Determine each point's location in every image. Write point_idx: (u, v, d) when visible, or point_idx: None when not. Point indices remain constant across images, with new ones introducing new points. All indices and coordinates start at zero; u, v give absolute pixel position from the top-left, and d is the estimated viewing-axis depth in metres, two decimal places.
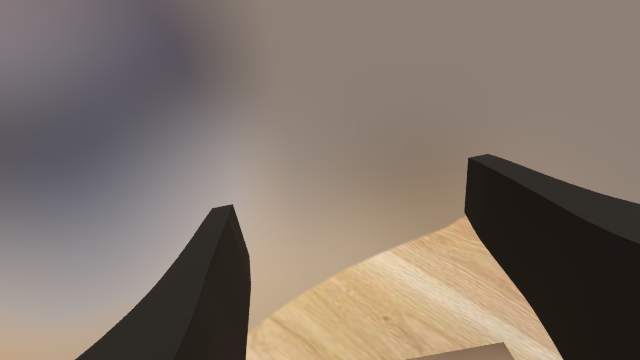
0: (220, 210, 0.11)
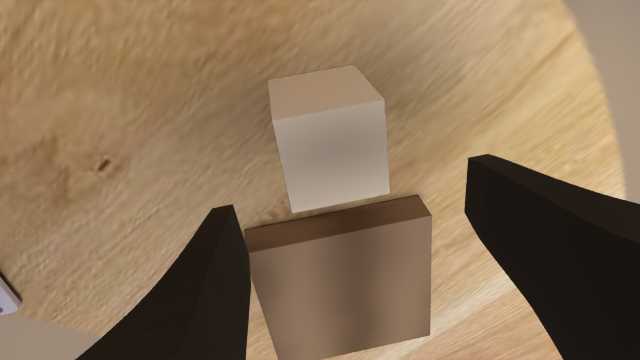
0: (220, 210, 0.11)
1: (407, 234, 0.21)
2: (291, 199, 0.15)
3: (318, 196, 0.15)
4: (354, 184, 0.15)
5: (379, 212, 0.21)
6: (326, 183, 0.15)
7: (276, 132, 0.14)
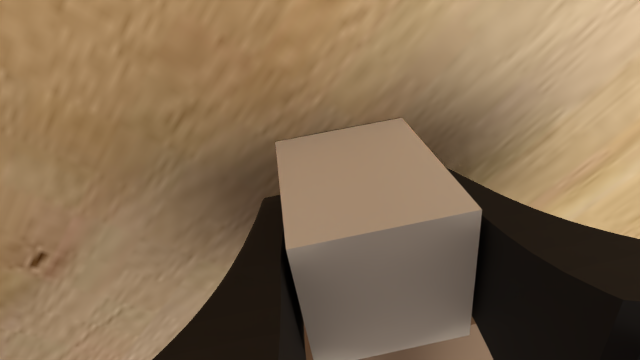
0: (275, 199, 0.11)
1: (466, 340, 0.15)
2: (315, 352, 0.09)
3: (358, 344, 0.09)
4: (416, 327, 0.09)
5: None
6: (372, 328, 0.09)
7: (293, 266, 0.08)
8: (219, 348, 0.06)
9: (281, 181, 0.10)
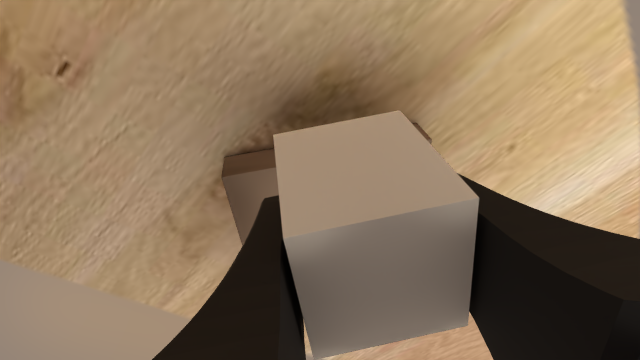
0: (274, 199, 0.11)
1: None
2: (313, 343, 0.09)
3: (356, 335, 0.09)
4: (414, 317, 0.09)
5: None
6: (370, 318, 0.09)
7: (290, 254, 0.08)
8: (219, 348, 0.06)
9: (279, 172, 0.10)
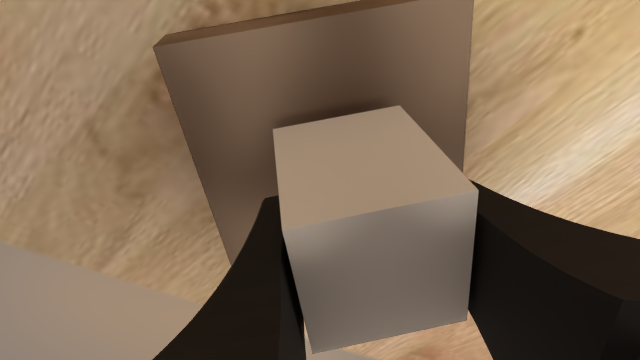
0: (275, 200, 0.11)
1: (432, 28, 0.12)
2: (311, 336, 0.09)
3: (354, 329, 0.09)
4: (413, 311, 0.09)
5: (385, 0, 0.13)
6: (369, 313, 0.09)
7: (289, 247, 0.08)
8: (219, 347, 0.06)
9: (278, 166, 0.10)
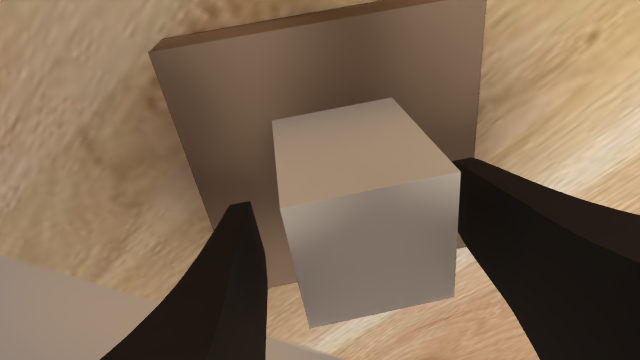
0: (238, 206, 0.11)
1: (442, 33, 0.12)
2: (308, 311, 0.10)
3: (349, 304, 0.10)
4: (403, 288, 0.10)
5: (392, 3, 0.12)
6: (362, 288, 0.10)
7: (287, 224, 0.08)
8: None
9: (277, 153, 0.10)
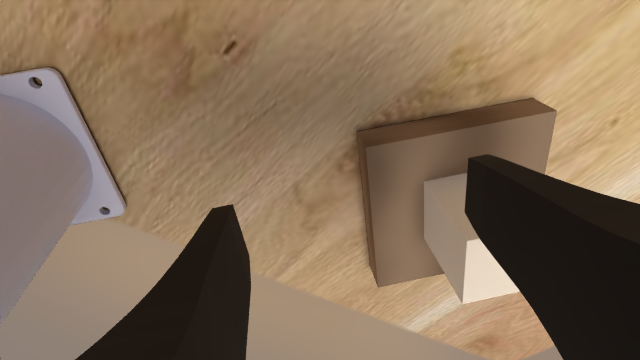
0: (220, 210, 0.11)
1: (529, 131, 0.20)
2: (465, 294, 0.18)
3: (486, 290, 0.18)
4: None
5: (497, 111, 0.20)
6: (495, 281, 0.18)
7: (468, 249, 0.17)
8: None
9: (443, 206, 0.19)
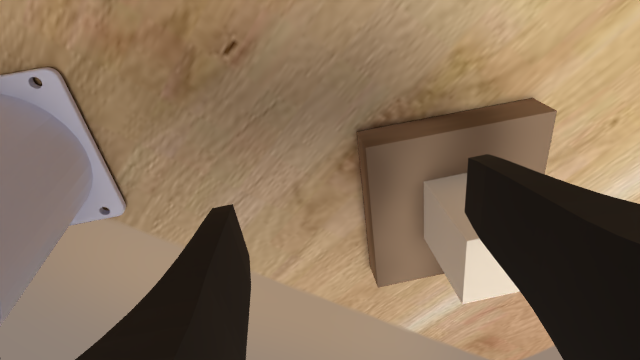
0: (220, 210, 0.11)
1: (529, 131, 0.20)
2: (464, 294, 0.18)
3: (486, 290, 0.18)
4: None
5: (497, 112, 0.20)
6: (495, 282, 0.18)
7: (468, 249, 0.17)
8: None
9: (443, 206, 0.19)
